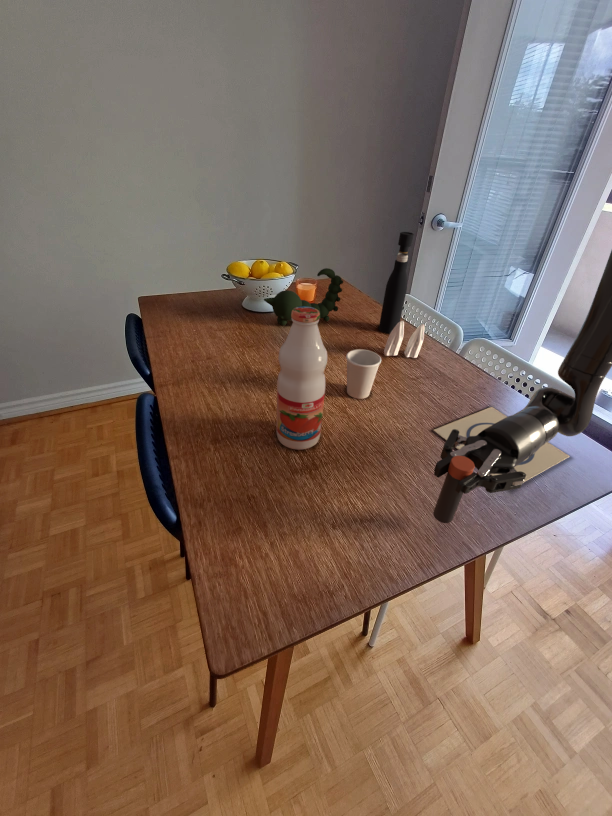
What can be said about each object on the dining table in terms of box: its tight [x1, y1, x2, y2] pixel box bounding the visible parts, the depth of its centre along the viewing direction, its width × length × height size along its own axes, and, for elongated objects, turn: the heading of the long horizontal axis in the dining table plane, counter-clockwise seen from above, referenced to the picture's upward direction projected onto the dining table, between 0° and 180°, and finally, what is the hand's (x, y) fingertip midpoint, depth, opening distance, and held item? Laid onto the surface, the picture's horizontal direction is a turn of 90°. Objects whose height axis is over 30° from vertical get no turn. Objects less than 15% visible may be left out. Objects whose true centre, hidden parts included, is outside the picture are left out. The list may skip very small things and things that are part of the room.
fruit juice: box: [275, 306, 329, 450], centre depth 76 cm, size 9×9×28 cm
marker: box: [432, 456, 476, 524], centre depth 63 cm, size 3×3×12 cm
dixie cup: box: [345, 348, 382, 400], centre depth 97 cm, size 8×8×10 cm
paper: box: [432, 406, 570, 484], centre depth 86 cm, size 20×20×1 cm
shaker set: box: [383, 320, 425, 359], centre depth 114 cm, size 12×4×11 cm, turn 103°
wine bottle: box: [378, 231, 414, 335], centre depth 123 cm, size 6×6×30 cm
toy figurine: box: [263, 267, 344, 327], centre depth 127 cm, size 9×19×25 cm
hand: (447, 480), depth 59 cm, fingers closed on marker, 3 cm apart
